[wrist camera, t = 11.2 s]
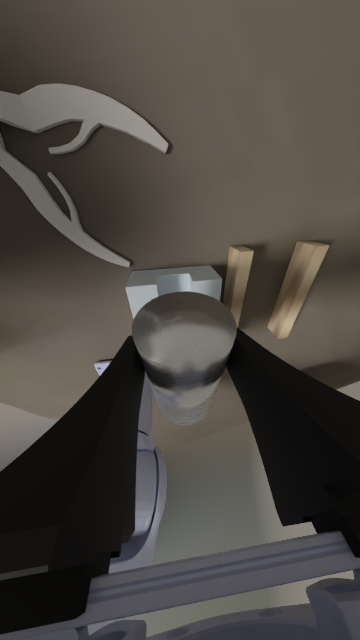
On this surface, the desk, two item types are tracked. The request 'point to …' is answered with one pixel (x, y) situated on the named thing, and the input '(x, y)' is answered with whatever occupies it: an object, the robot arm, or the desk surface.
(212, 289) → the v block
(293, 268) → the wooden rails
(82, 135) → the pliers
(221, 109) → the desk surface
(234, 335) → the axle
